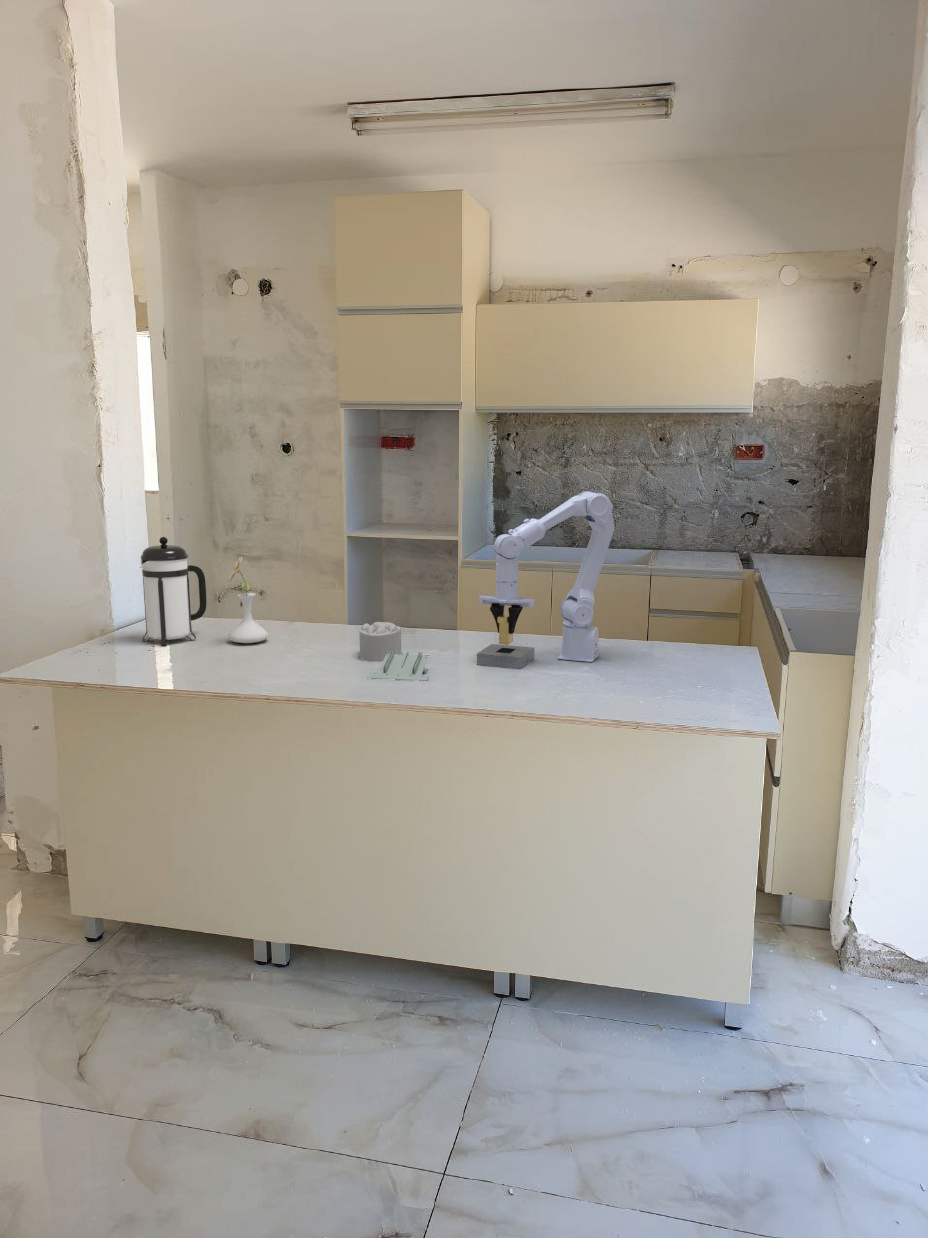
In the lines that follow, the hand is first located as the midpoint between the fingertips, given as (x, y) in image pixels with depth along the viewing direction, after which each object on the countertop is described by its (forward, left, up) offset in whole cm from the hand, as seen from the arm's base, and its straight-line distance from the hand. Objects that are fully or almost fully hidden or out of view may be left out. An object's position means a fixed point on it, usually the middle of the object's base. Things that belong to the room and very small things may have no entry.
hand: (506, 632), depth 242 cm
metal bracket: (+20, +21, -8) cm, 30 cm away
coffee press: (+98, +10, -8) cm, 99 cm away
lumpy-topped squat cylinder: (+34, +6, -8) cm, 35 cm away
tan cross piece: (0, 0, -3) cm, 3 cm away
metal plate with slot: (0, 0, -8) cm, 8 cm away
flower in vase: (+76, +5, -8) cm, 77 cm away
